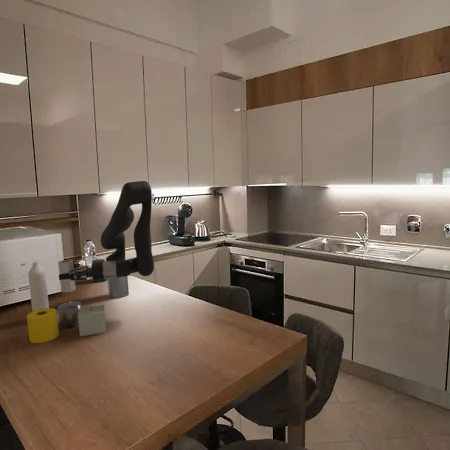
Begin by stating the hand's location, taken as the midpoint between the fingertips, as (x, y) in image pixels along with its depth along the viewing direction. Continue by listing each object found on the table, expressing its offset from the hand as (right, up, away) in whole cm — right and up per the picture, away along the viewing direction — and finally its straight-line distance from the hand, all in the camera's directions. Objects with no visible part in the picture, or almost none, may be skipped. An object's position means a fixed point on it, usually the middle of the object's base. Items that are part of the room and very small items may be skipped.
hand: (60, 275), depth 143 cm
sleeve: (+3, -6, +2) cm, 7 cm away
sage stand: (+14, -21, -3) cm, 26 cm away
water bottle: (-14, -20, +11) cm, 27 cm away
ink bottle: (-7, -12, +66) cm, 68 cm away
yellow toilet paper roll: (-2, -22, -8) cm, 24 cm away
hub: (+3, -20, +4) cm, 21 cm away
